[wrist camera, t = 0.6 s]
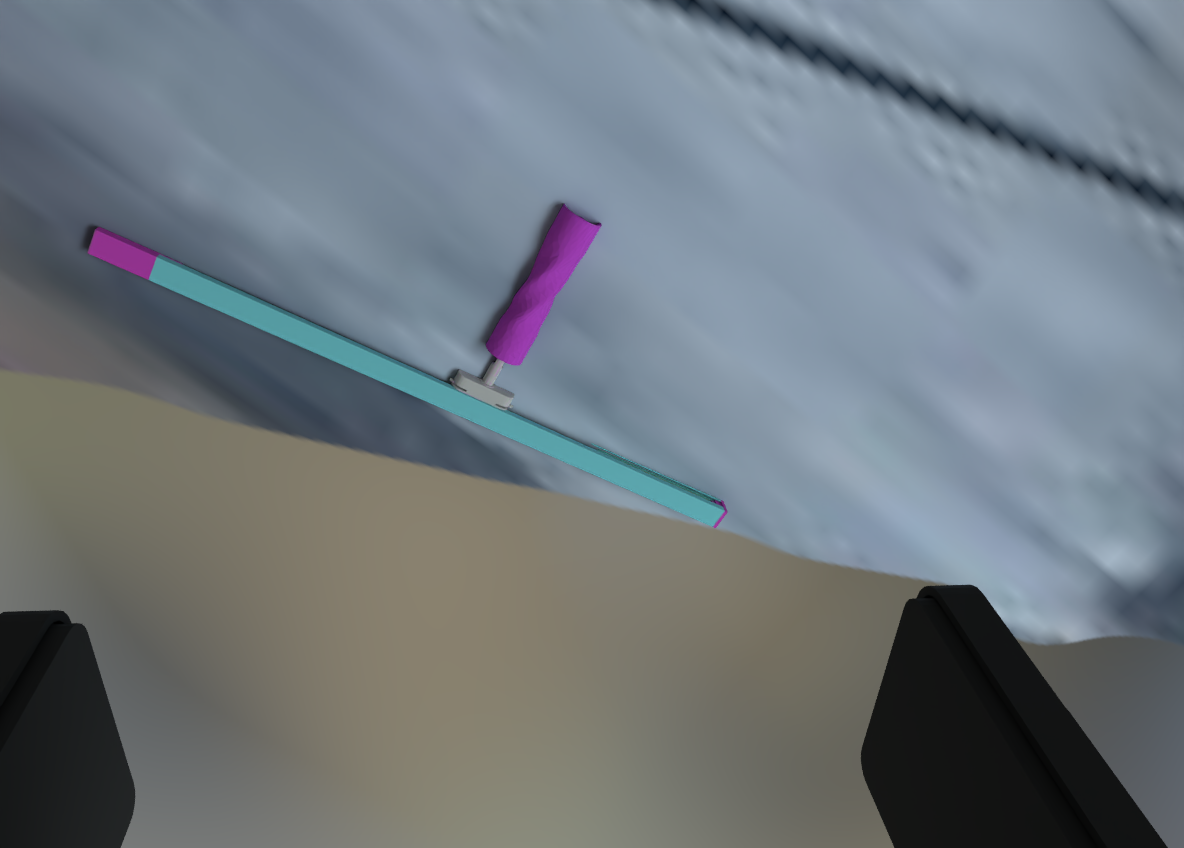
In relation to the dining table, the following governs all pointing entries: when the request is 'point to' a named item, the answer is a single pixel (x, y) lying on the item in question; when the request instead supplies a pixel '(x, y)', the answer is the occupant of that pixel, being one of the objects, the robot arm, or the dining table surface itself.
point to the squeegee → (461, 397)
